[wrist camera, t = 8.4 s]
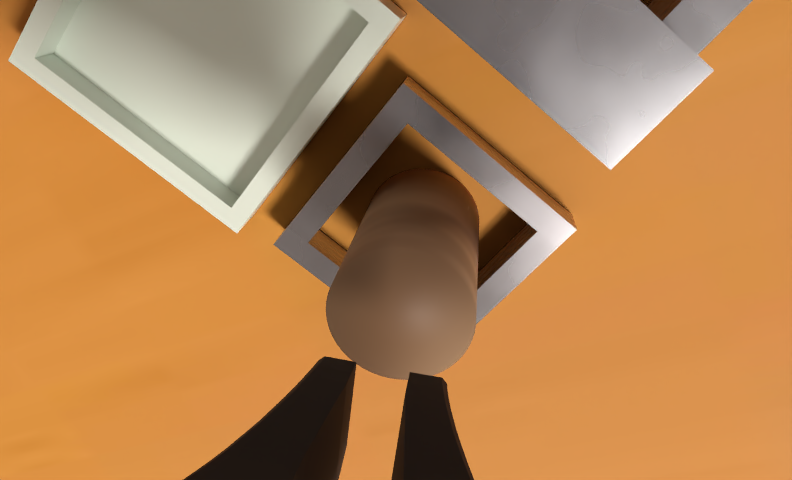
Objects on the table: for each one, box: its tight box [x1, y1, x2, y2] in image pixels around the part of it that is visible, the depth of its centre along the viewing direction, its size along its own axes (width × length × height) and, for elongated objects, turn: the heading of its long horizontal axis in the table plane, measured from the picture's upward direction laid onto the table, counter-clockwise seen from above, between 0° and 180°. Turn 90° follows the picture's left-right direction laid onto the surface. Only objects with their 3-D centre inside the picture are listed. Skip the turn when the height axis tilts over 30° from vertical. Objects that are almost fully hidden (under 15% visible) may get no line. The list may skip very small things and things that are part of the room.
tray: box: [8, 0, 407, 233], centre depth 18 cm, size 8×8×2 cm
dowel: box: [326, 169, 479, 380], centre depth 18 cm, size 4×4×6 cm
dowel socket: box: [274, 76, 577, 324], centre depth 20 cm, size 7×7×1 cm
